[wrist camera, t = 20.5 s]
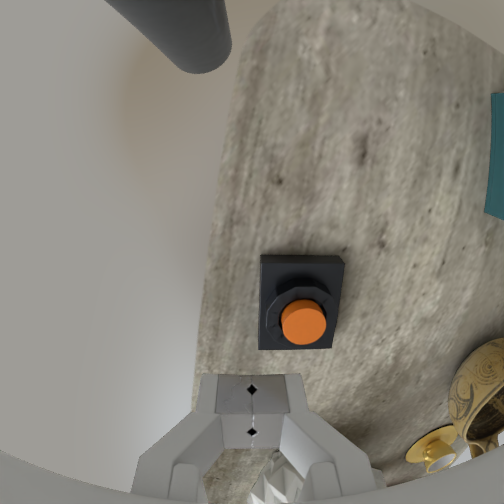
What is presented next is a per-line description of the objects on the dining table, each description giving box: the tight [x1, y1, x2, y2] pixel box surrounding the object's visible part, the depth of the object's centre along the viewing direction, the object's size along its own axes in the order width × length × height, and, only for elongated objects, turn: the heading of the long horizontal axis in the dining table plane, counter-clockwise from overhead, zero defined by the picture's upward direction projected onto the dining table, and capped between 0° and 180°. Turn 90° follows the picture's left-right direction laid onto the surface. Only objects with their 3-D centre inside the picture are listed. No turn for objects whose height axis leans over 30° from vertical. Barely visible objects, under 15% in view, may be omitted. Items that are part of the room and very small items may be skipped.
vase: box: [247, 451, 305, 504], centre depth 34 cm, size 16×16×18 cm
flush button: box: [281, 299, 326, 345], centre depth 29 cm, size 4×4×2 cm
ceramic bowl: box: [448, 338, 504, 459], centre depth 31 cm, size 22×17×15 cm
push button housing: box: [258, 255, 345, 350], centre depth 31 cm, size 10×8×4 cm
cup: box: [406, 425, 458, 473], centre depth 42 cm, size 12×12×5 cm
